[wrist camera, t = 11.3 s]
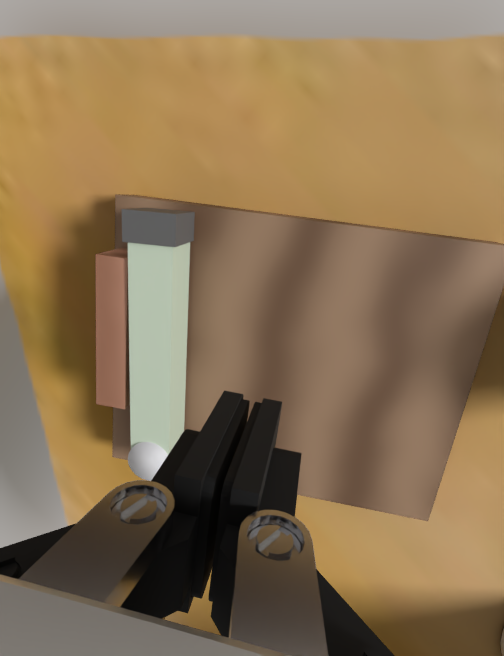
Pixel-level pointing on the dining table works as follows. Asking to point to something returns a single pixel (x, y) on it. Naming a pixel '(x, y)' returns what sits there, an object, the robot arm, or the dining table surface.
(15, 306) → the dining table surface
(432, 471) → the stool seat
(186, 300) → the stool leg
